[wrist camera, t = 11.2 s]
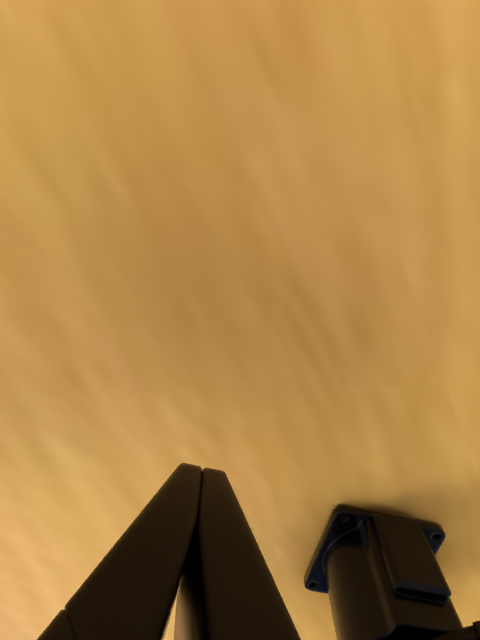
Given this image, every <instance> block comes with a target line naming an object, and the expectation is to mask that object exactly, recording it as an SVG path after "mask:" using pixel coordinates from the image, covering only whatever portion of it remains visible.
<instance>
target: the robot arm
mask: <svg viewBox="0 0 480 640" xmlns="http://www.w3.org/2000/svg"><path fill="white" fill-rule="evenodd" d="M341 515H344V516H341ZM444 539H445V533H444V531H443V529H442V527H441V526H439V525H437V524H432V523H427V522H422V521H417V520H412V519H407V518H402V517H396V516H391V515H386V514H381V513H376V512H371V511H366V510H361V509H356V508H351V507H346V506H339V507H337V508H335V509H334V510H333V512H332V515H331V517H330V519H329V522H328V524H327V526H326V528H325V531H324V533H323V535H322V538H321V540H320V542H319V544H318V547H317V549H316V551H315V554H314V556H313V558H312V561H311V563H310V565H309V567H308V570H307V572H306V574H305V577H304V584H305V587H306V588H307V589H308V590H311V591H317V592H322V593H328V594H329V598H330V604H331V609H332V615H333V620H334V625H335V631H336V636H337V640H480V621H476V622H473V625H472V626H468V627H464V628H463V626H462V623H461V621H460V619H459V617H458V614H457V612H456V610H455V608H454V606H453V603H452V601H451V599H450V595H451V591H450V589H449V586H448V584H447V582H446V580H445V578H444V575H443V573H442V571H441V569H440V567H439V565H438V562H437V560H436V558H435V554H436V553H437V551H438V549H439V547H440V546H441V544H442V542H443V541H444ZM177 591H178V594H177ZM176 594H177V604H176V616H175V631H174V640H301V639H300V637H299V635H298V632H297V630H296V628H295V626H294V624H293V621H292V619H291V617H290V615H289V613H288V610H287V608H286V606H285V604H284V602H283V599H282V597H281V595H280V593H279V590H278V588H277V586H276V584H275V582H274V579H273V577H272V575H271V573H270V571H269V568H268V566H267V564H266V562H265V560H264V557H263V555H262V553H261V551H260V549H259V546H258V544H257V542H256V540H255V538H254V535H253V533H252V531H251V529H250V527H249V524H248V522H247V520H246V518H245V515H244V513H243V511H242V509H241V507H240V504H239V502H238V500H237V498H236V496H235V493H234V491H233V489H232V487H231V485H230V482H229V480H228V478H227V476H226V474H225V472H224V471H221V470H216V469H211V468H204V469H203V470H202V468H201V467H200V466H196V465H191V464H186V463H182V464H180V465H179V466H178V467H177V468H176V470H175V471H174V472H173V473H172V475H171V476H170V477H169V478H168V479H167V481H166V482H165V483H164V484H163V486H162V487H161V488H160V489H159V491H158V492H157V493H156V494H155V495H154V497H153V498H152V499H151V500H150V502H149V503H148V504H147V505H146V507H145V508H144V509H143V510H142V511H141V513H140V514H139V515H138V516H137V518H136V519H135V520H134V521H133V523H132V524H131V525H130V526H129V527H128V529H127V530H126V531H125V532H124V534H123V535H122V536H121V537H120V539H119V540H118V541H117V542H116V543H115V545H114V546H113V547H112V548H111V550H110V551H109V552H108V553H107V555H106V556H105V557H104V558H103V559H102V561H101V562H100V563H99V564H98V566H97V567H96V568H95V569H94V571H93V572H92V573H91V574H90V576H89V577H88V578H87V579H86V580H85V582H84V583H83V584H82V585H81V587H80V588H79V589H78V590H77V592H76V593H75V594H74V595H73V596H72V598H71V599H70V600H69V601H68V603H67V604H66V605H65V609H64V610H61V611H60V612H59V613H58V614H57V616H56V617H55V618H54V619H53V621H52V622H51V623H50V624H49V626H48V627H47V628H46V629H45V630H44V632H43V633H42V634H41V635H40V636H39V638H38V639H37V640H164V636H165V633H166V629H167V626H168V623H169V619H170V616H171V612H172V609H173V605H174V602H175V598H176Z"/></svg>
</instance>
